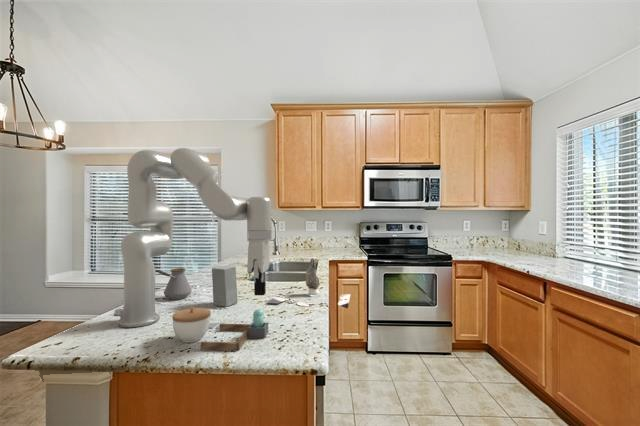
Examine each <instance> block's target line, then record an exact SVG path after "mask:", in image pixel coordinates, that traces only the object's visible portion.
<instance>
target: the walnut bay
mask: <svg viewBox="0 0 640 426" xmlns="http://www.w3.org/2000/svg"><path fill="white" fill-rule="evenodd" d="M219 324H220V323H219ZM250 325H251V323H221V324H220V329H219V331H230V332H231V331H233V332H237V331H239V332H244V333H242V335H241V336H240V337H239V339H238V340H237V341H236V342H235V341H233V342H232V341H231V342H230V341H201V342H200V345H199V346H200V351H233V350H236V352H237V351H240V349H241V348H242V347H243V346H244V344H245V342H246V341H247V339H249V338H248V327H249V326H250Z"/></svg>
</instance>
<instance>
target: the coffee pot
mask: <svg viewBox="0 0 640 426" xmlns="http://www.w3.org/2000/svg"><path fill="white" fill-rule="evenodd" d="M186 270H187V269H186V268H183V267H181V268H180V267H179V268H172V269H170V272H171V274H169V273H167V272H166V271H162V270H155V273H156V272H157V273H158V275H160V274H161V275H163V276H167V277H170V278H169V280H168V282H167V284H166V286H165V288H164V292H163V295H164V296H165V297H166V298H168V300H170V301H178V300H180V301H181V300H184V299H186V298H188V296H190V294H191V293H192V287H191V285H190V284H189V282H188V279H187V277H186V275H185V271H186Z"/></svg>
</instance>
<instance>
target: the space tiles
mask: <svg viewBox="0 0 640 426" xmlns="http://www.w3.org/2000/svg"><path fill="white" fill-rule="evenodd" d="M220 324H222V323H221V322H220V323H219V324H218V323H216V322H215V323H214V322H213V323H212V322H210V325H209V328H208V329H214V328H215V329H216V330H217V329H218V330H220Z"/></svg>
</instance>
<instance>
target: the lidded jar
mask: <svg viewBox="0 0 640 426" xmlns="http://www.w3.org/2000/svg"><path fill="white" fill-rule="evenodd" d="M211 315H212V311H211V310H210V309H209V308H204V307H194V306H191V307H189V308H186V309H181V310H178V311H176V312H174V313H173V314H172V317H171V318H172V327H173V332H174V334H175V336H176V337H177V338H178V339H179V340H180V342H182V343H189V344H190V343H196V342H198V341H201V340H202V339H203V337H204V336H205V335H206V334H207V332H208V331H209V329H210V328H209V325H210V323H211Z"/></svg>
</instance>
